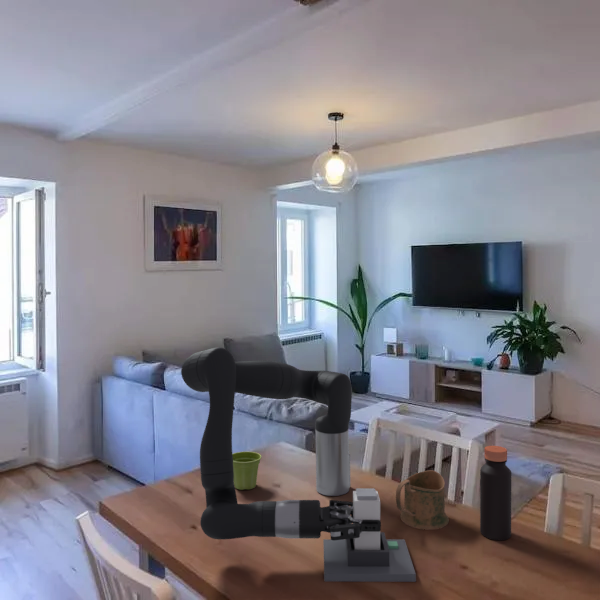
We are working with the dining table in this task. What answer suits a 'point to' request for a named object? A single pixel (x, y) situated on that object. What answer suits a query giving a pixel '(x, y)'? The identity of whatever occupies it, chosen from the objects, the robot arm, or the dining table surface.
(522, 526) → the dining table surface
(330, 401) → the robot arm
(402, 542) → the dock
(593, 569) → the dining table surface
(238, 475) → the plant pot
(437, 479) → the mug
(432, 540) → the dining table surface
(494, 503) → the bottle
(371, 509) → the grey tall block
